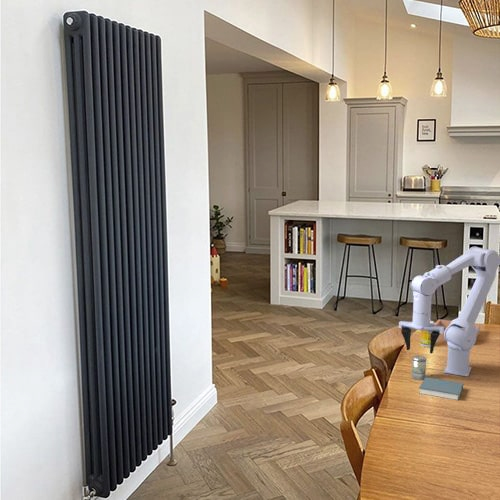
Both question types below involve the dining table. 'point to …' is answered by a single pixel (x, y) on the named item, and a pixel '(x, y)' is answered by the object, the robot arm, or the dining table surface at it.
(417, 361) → the tea tin
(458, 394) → the hardcover book
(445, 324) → the open box
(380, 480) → the dining table surface
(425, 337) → the supplement bottle
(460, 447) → the dining table surface
